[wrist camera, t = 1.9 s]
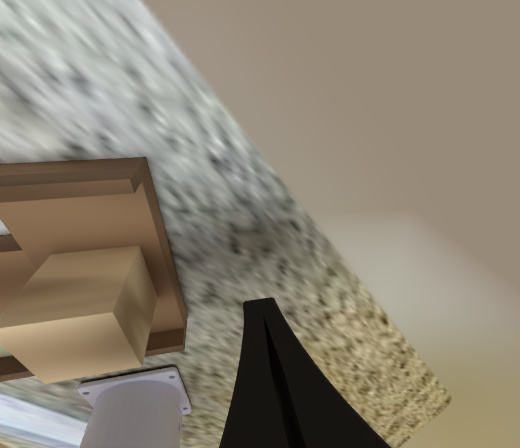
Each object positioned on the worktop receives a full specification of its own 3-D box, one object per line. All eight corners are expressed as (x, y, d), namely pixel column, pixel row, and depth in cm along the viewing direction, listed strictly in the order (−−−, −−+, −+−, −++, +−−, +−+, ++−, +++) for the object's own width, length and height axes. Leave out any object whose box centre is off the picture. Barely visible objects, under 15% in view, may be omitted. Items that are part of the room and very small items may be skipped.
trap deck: (187, 314, 18) (183, 362, 15) (-48, 350, 15) (-108, 414, 12) (145, 157, 11) (123, 187, 8) (-278, 177, 9) (-518, 229, 6)
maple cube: (157, 297, 14) (141, 366, 11) (84, 307, 13) (44, 384, 10) (139, 245, 12) (112, 312, 9) (50, 254, 11) (-15, 330, 8)
